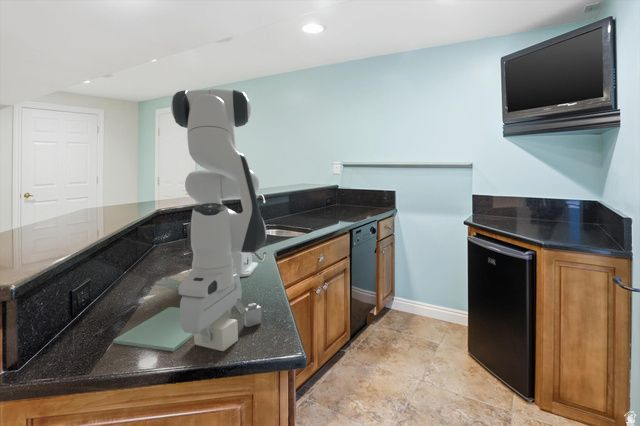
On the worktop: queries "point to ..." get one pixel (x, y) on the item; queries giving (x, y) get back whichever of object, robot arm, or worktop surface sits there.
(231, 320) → the card box
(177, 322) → the mat
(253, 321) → the lighter
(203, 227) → the robot arm
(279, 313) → the worktop surface
